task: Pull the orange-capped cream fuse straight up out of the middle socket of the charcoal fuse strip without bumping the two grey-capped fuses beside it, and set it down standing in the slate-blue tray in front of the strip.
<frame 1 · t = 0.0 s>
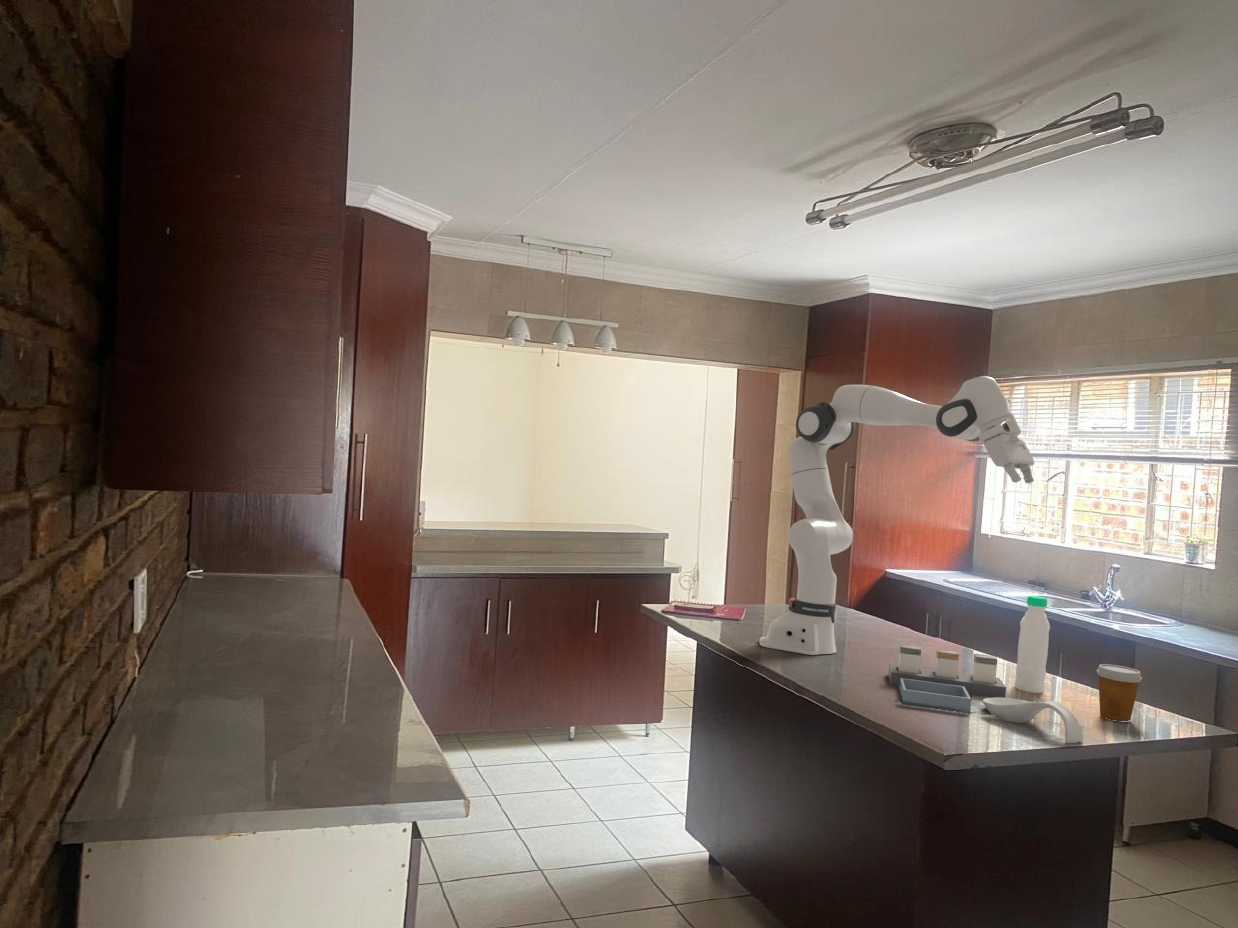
hand: (1023, 482, 228), 54 cm above the counter, tool tilted 30°, fingers open, 8 cm apart
spoon rest: (1030, 728, 202), on the counter
fuse 2: (982, 691, 226), point 1 cm above the counter, touching fuse strip
orange cap fuse: (944, 686, 228), point 1 cm above the counter, touching fuse strip
water bottle: (1028, 693, 233), on the counter
disposable coffee cup: (1114, 719, 214), on the counter
fuse 1: (907, 681, 230), point 1 cm above the counter, touching fuse strip
tray: (933, 702, 215), on the counter
fuse strip: (944, 690, 228), on the counter
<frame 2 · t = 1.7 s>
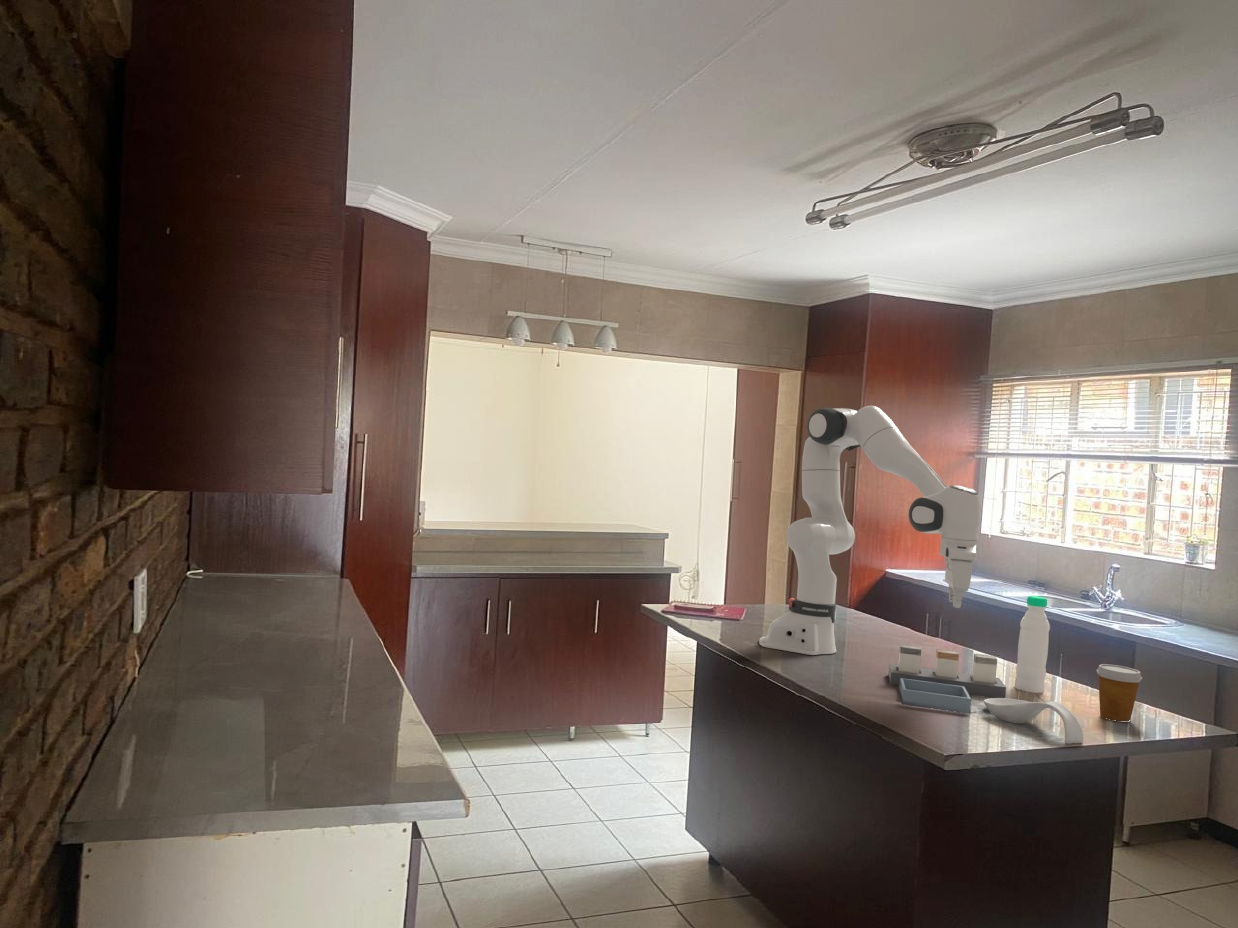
hand: (954, 604, 227), 22 cm above the counter, tool pointing down, fingers open, 8 cm apart
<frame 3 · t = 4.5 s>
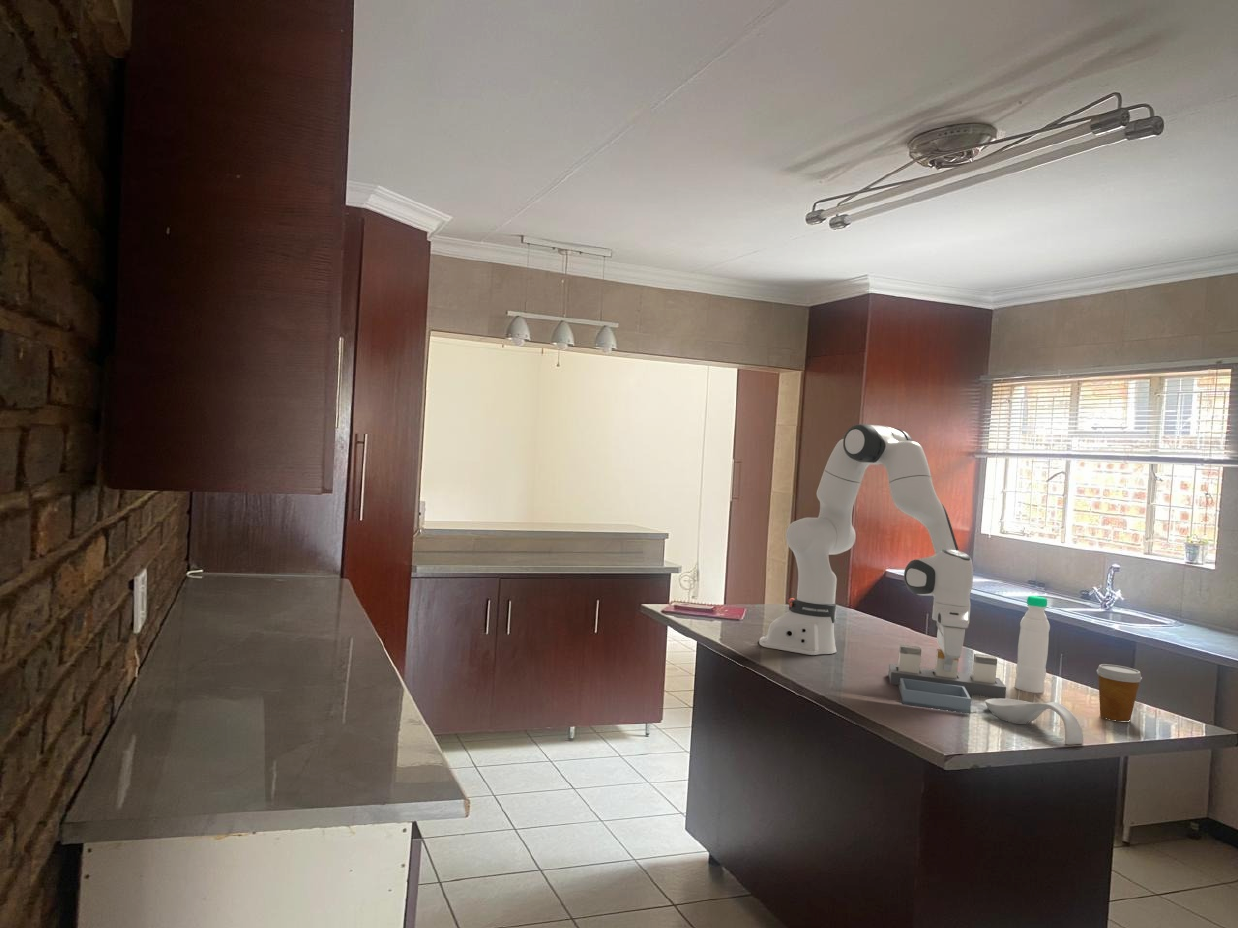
hand: (946, 668, 228), 6 cm above the counter, tool pointing down, fingers closed on orange cap fuse, 3 cm apart
orange cap fuse: (944, 686, 228), point 1 cm above the counter, touching fuse strip, gripper
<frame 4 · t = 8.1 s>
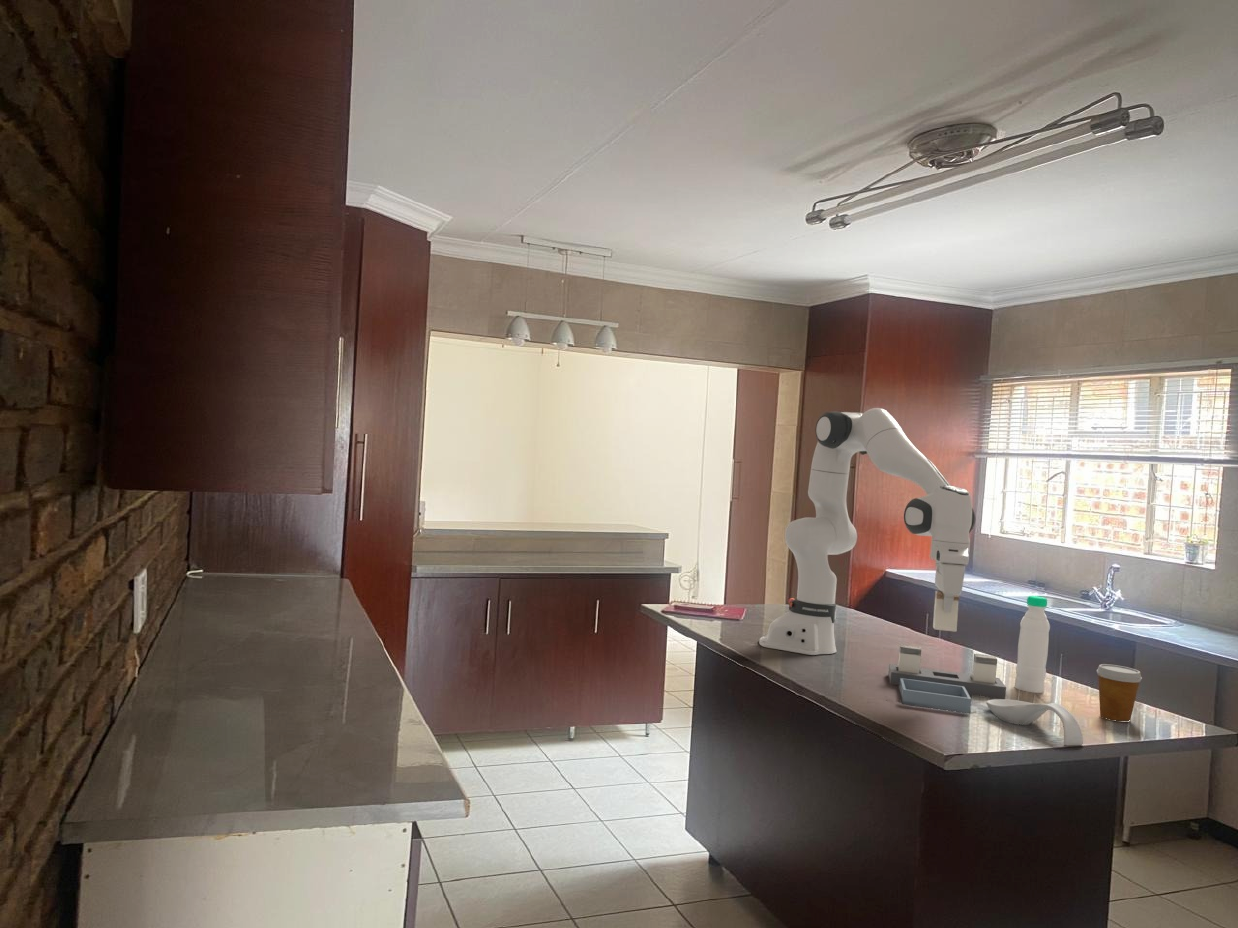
hand: (945, 610, 217), 22 cm above the counter, tool pointing down, fingers closed on orange cap fuse, 3 cm apart
orange cap fuse: (944, 629, 218), point 17 cm above the counter, touching gripper
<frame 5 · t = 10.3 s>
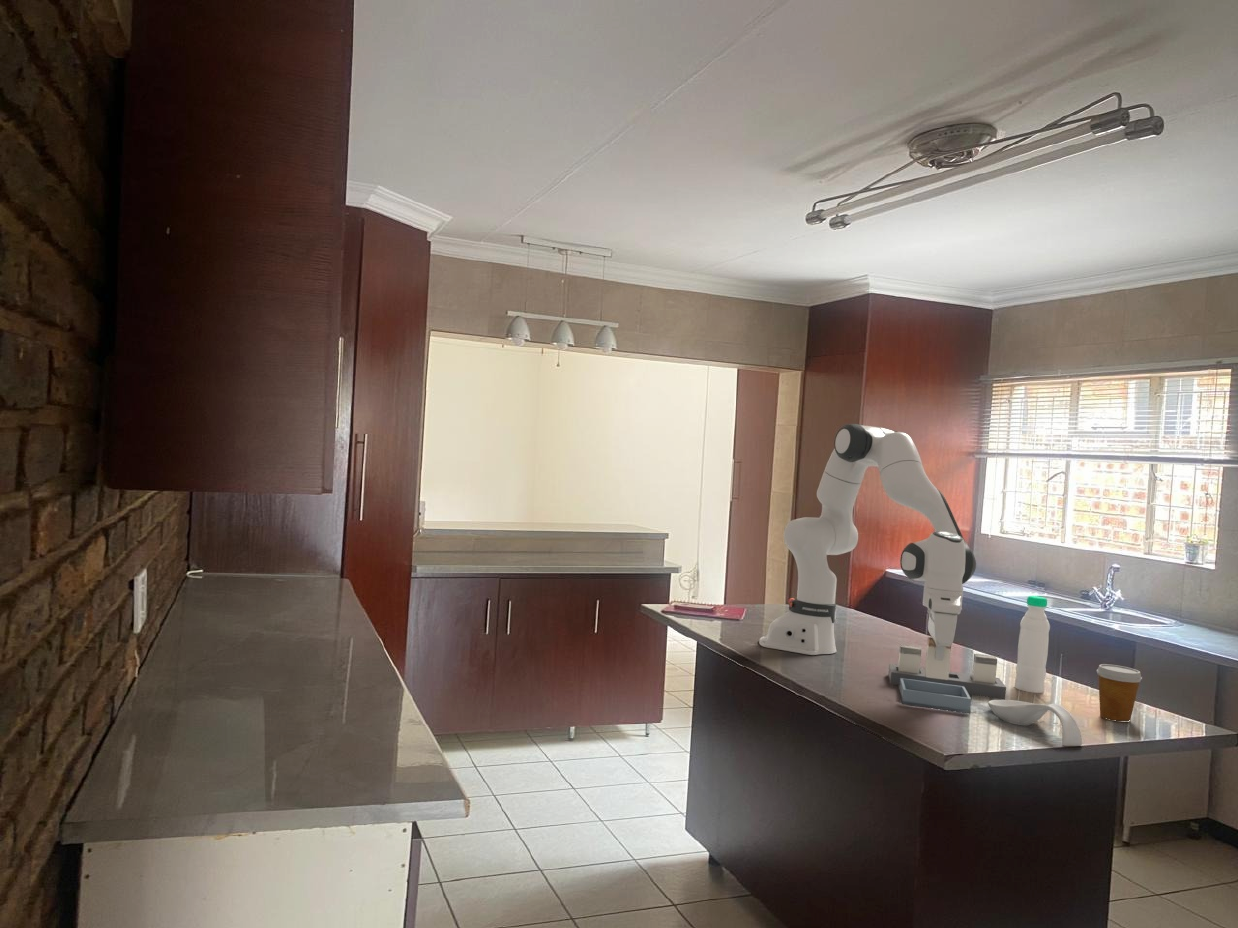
hand: (937, 657, 215), 11 cm above the counter, tool pointing down, fingers closed on orange cap fuse, 3 cm apart
orange cap fuse: (936, 676, 215), point 6 cm above the counter, touching gripper
when the fingers open (7 cm above the counter, at t = 11.9 s): orange cap fuse drops 1 cm, resting on tray.
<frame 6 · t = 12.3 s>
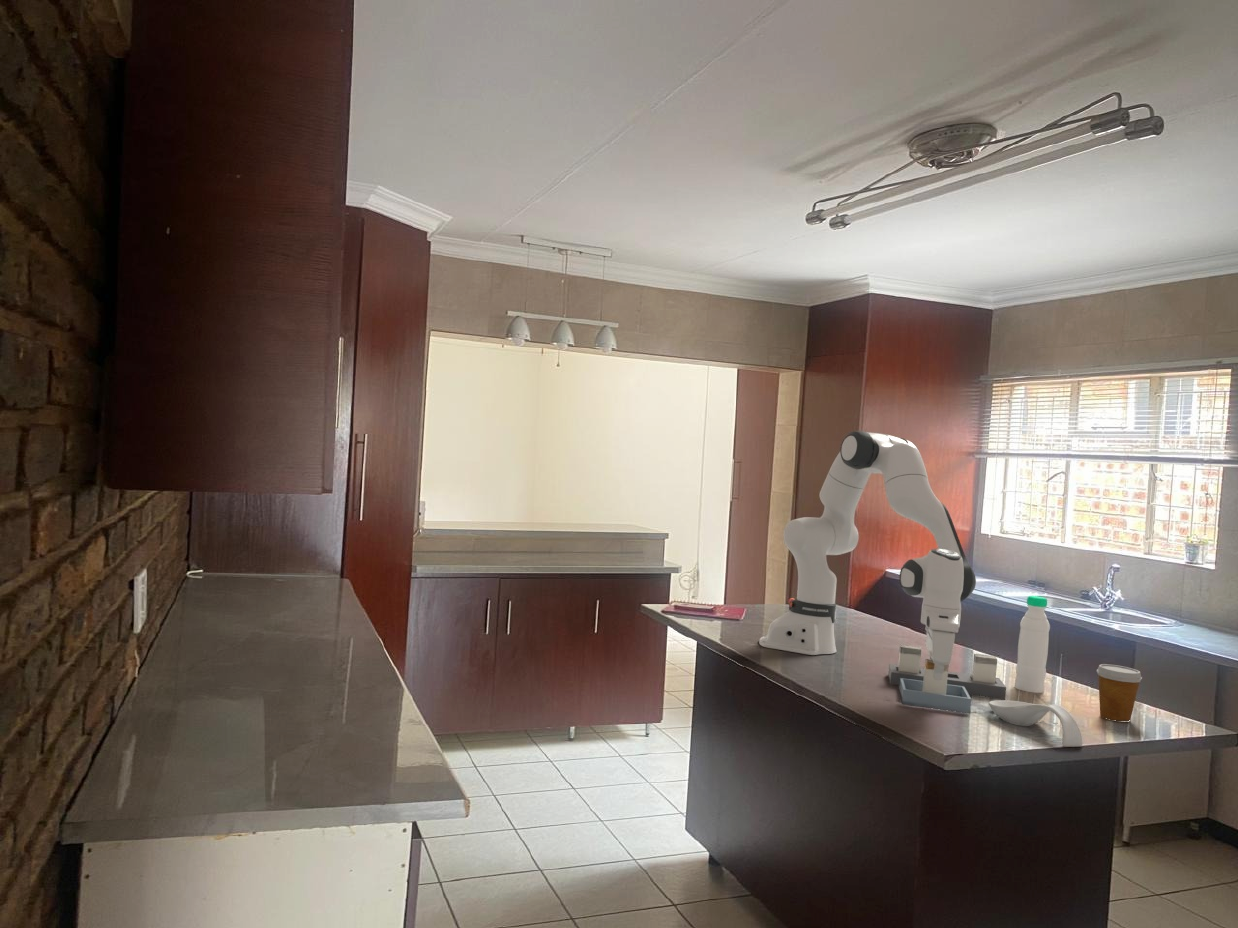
hand: (935, 675, 215), 7 cm above the counter, tool pointing down, fingers open, 8 cm apart
orange cap fuse: (933, 699, 215), point 1 cm above the counter, touching tray
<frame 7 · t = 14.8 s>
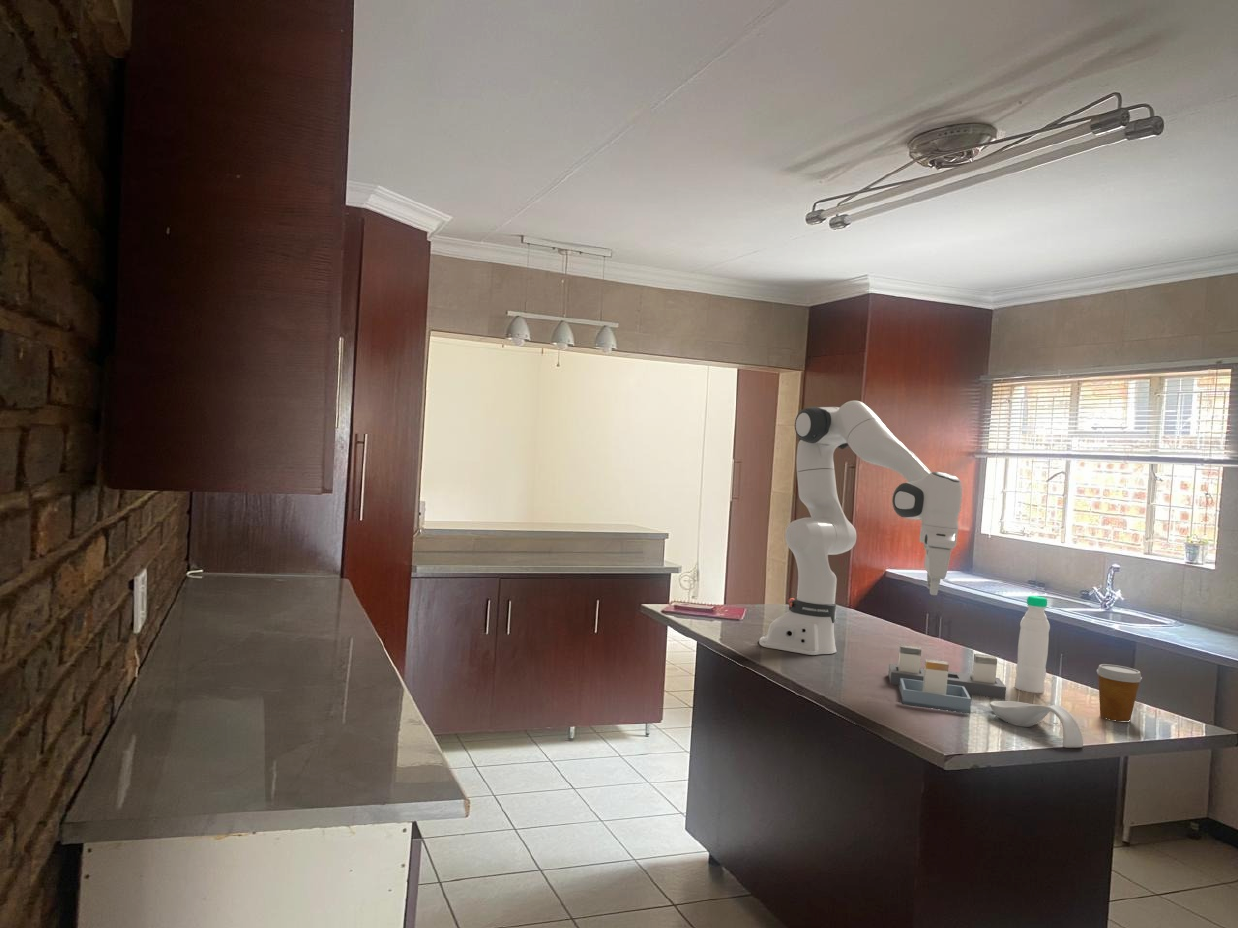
hand: (931, 591, 227), 25 cm above the counter, tool pointing down, fingers open, 8 cm apart
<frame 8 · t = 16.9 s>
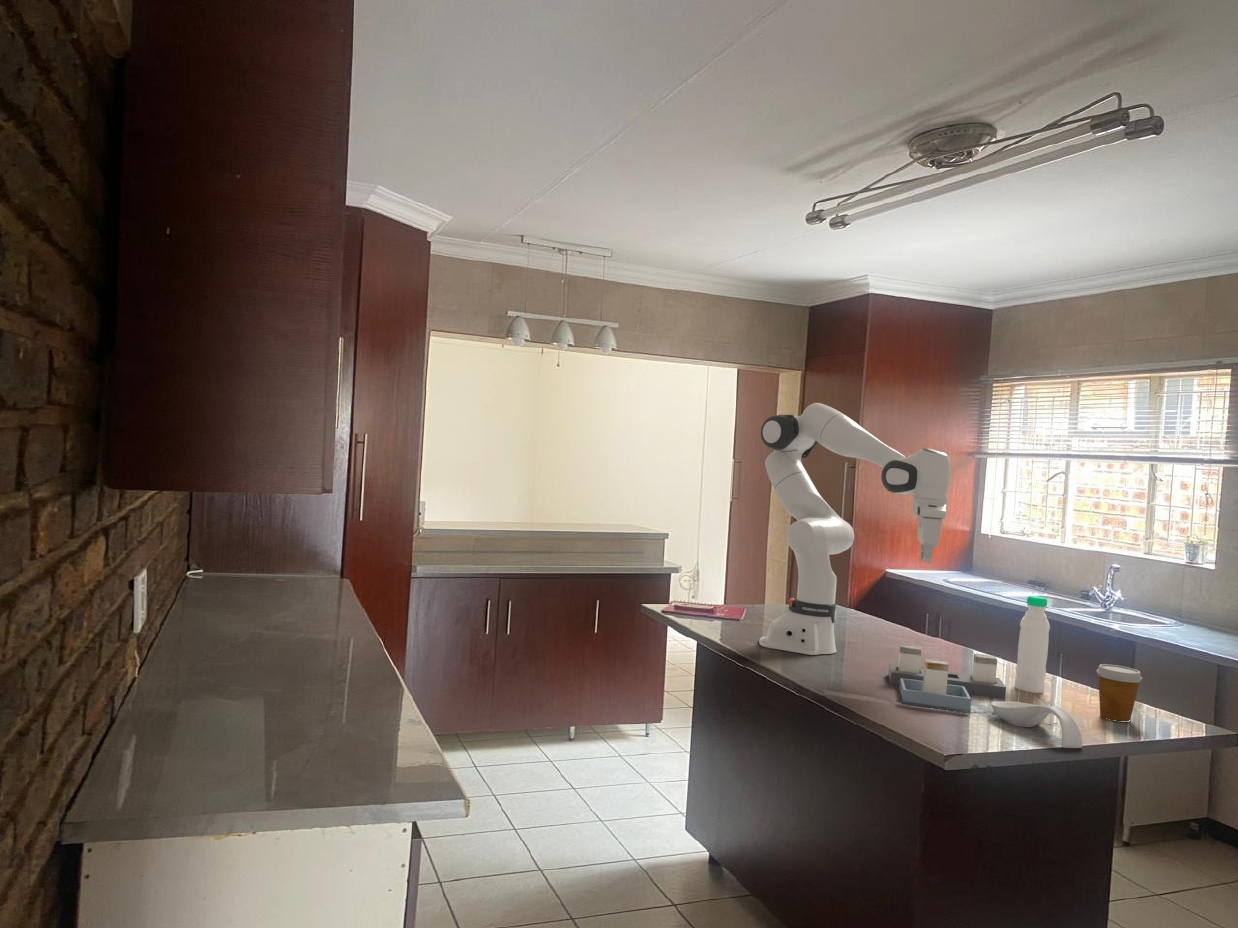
hand: (925, 560, 242), 31 cm above the counter, tool pointing down, fingers open, 8 cm apart
at the end: orange cap fuse inside the target area on the tray (0.1 cm from its centre), point 0.8 cm above the tray's base; fuse 1 moved 0.0 cm from its start; fuse 2 moved 0.0 cm from its start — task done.
